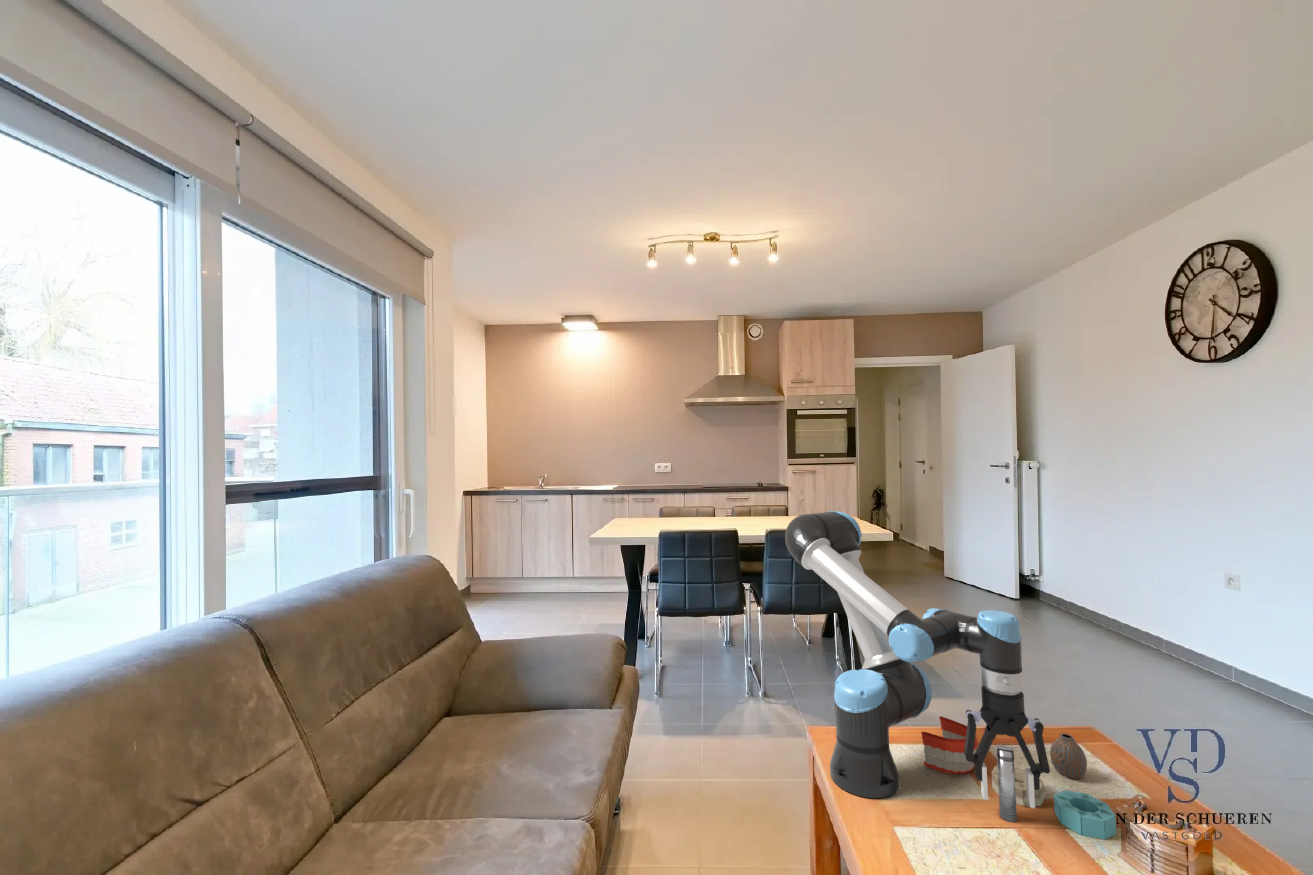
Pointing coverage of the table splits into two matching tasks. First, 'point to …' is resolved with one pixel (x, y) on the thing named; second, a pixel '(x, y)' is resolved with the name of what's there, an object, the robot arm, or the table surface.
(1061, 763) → the vase
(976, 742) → the toy
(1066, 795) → the bead teal
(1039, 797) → the bead birch
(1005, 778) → the capped vial
